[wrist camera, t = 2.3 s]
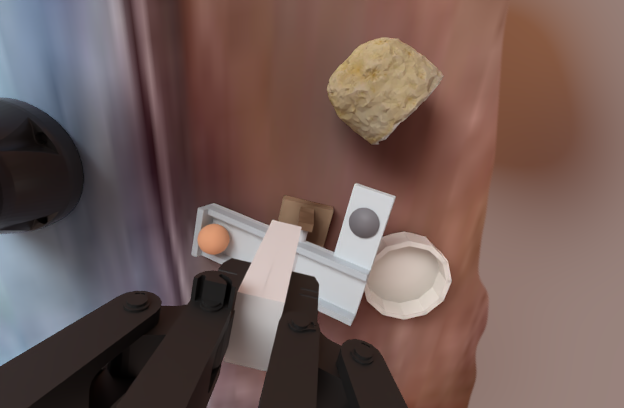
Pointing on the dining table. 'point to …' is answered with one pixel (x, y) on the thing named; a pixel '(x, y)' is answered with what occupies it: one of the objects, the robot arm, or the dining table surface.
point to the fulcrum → (307, 217)
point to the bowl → (407, 276)
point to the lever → (316, 248)
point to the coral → (381, 87)
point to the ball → (213, 239)
